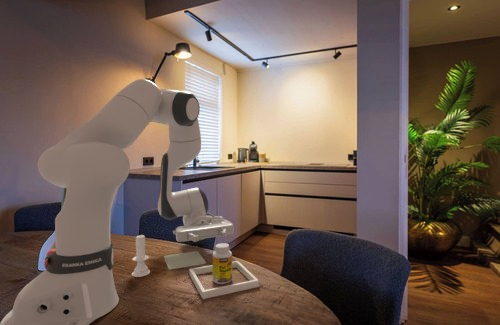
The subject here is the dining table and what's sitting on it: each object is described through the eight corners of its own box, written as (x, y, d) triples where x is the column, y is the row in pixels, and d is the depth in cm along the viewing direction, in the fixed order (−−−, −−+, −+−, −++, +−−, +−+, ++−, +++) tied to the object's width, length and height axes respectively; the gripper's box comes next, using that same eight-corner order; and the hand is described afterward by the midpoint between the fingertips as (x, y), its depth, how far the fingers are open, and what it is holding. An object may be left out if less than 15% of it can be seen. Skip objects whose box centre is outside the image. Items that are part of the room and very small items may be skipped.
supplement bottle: (218, 287, 76) (217, 249, 76) (209, 279, 80) (209, 244, 80) (235, 281, 79) (235, 246, 79) (226, 274, 84) (226, 241, 83)
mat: (168, 270, 87) (168, 268, 87) (163, 257, 98) (163, 255, 98) (206, 263, 92) (206, 262, 92) (197, 252, 103) (197, 250, 103)
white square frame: (202, 299, 69) (202, 292, 69) (189, 274, 84) (189, 268, 84) (258, 286, 76) (258, 280, 76) (237, 266, 90) (237, 260, 90)
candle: (154, 271, 86) (153, 233, 86) (140, 278, 81) (140, 237, 81) (141, 268, 88) (140, 231, 88) (127, 275, 84) (126, 235, 83)
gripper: (171, 221, 99) (178, 231, 87) (226, 215, 108) (239, 224, 95) (172, 239, 100) (178, 251, 87) (226, 231, 108) (239, 242, 95)
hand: (210, 237), depth 91 cm, fingers open, 8 cm apart
